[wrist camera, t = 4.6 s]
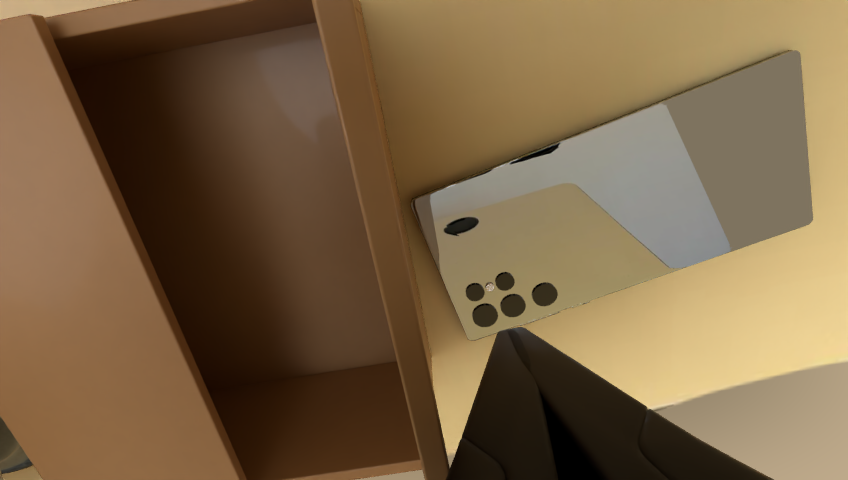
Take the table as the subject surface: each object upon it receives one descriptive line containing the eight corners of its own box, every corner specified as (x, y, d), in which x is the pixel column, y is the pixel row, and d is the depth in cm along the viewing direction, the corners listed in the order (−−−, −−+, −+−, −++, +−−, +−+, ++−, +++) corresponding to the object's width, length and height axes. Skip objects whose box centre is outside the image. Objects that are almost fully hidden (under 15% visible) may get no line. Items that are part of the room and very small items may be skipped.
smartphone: (813, 224, 19) (470, 346, 21) (802, 220, 20) (469, 340, 22) (799, 47, 17) (409, 203, 18) (787, 48, 17) (409, 199, 19)
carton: (359, 0, 16) (320, -48, 9) (431, 357, 22) (439, 487, 15) (24, 65, 17) (-242, 64, 10) (180, 397, 23) (80, 539, 16)
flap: (313, -43, 10) (332, -46, 10) (433, 484, 15) (445, 481, 15) (254, -239, 4) (302, -244, 4) (486, 738, 9) (504, 733, 9)
